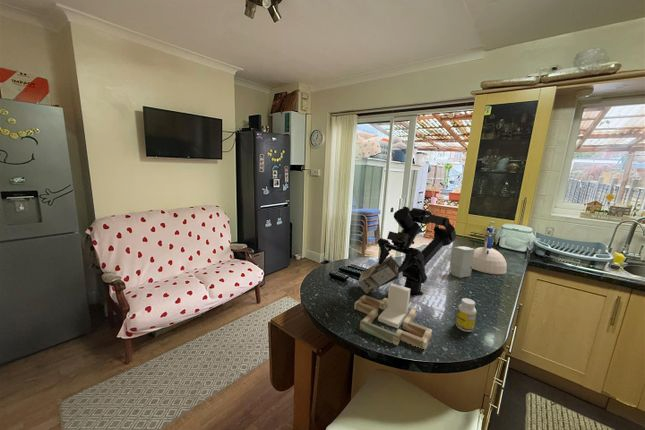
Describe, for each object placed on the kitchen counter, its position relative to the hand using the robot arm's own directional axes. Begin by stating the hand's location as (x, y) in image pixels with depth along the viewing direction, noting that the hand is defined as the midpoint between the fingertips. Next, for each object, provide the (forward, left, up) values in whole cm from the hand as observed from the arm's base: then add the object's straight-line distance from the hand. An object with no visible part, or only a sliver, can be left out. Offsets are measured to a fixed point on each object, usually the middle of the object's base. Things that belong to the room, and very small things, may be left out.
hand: (388, 268), depth 98 cm
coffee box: (+1, -14, -12) cm, 18 cm away
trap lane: (+6, +10, -15) cm, 19 cm away
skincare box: (-57, -10, -15) cm, 60 cm away
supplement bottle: (-16, +22, -15) cm, 31 cm away
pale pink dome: (-82, -13, -15) cm, 84 cm away
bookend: (+3, +9, -15) cm, 18 cm away
